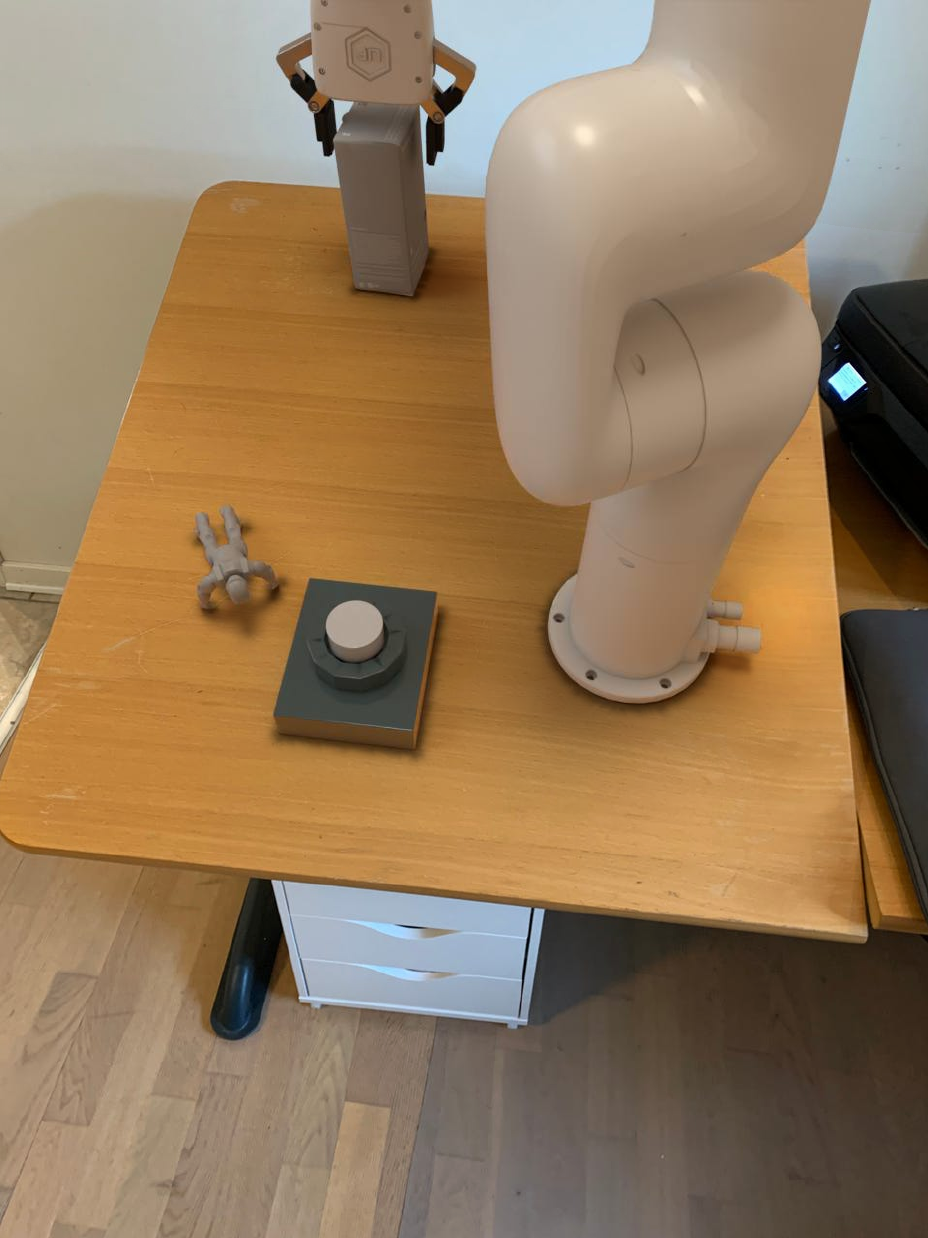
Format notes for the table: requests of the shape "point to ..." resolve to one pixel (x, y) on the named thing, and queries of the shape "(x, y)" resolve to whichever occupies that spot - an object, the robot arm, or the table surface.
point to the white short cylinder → (355, 631)
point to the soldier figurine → (228, 561)
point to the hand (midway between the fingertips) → (381, 152)
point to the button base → (358, 669)
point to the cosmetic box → (383, 195)
